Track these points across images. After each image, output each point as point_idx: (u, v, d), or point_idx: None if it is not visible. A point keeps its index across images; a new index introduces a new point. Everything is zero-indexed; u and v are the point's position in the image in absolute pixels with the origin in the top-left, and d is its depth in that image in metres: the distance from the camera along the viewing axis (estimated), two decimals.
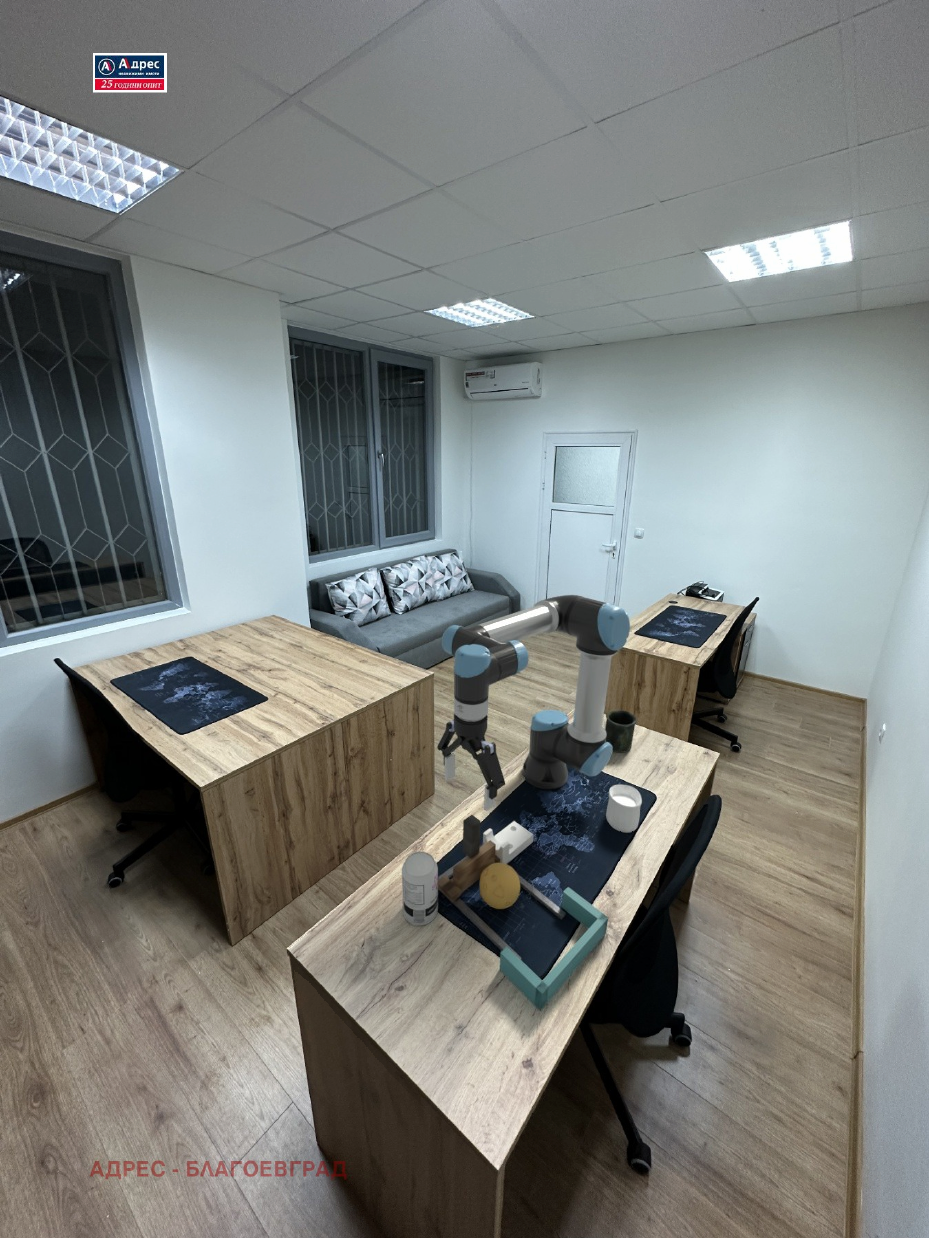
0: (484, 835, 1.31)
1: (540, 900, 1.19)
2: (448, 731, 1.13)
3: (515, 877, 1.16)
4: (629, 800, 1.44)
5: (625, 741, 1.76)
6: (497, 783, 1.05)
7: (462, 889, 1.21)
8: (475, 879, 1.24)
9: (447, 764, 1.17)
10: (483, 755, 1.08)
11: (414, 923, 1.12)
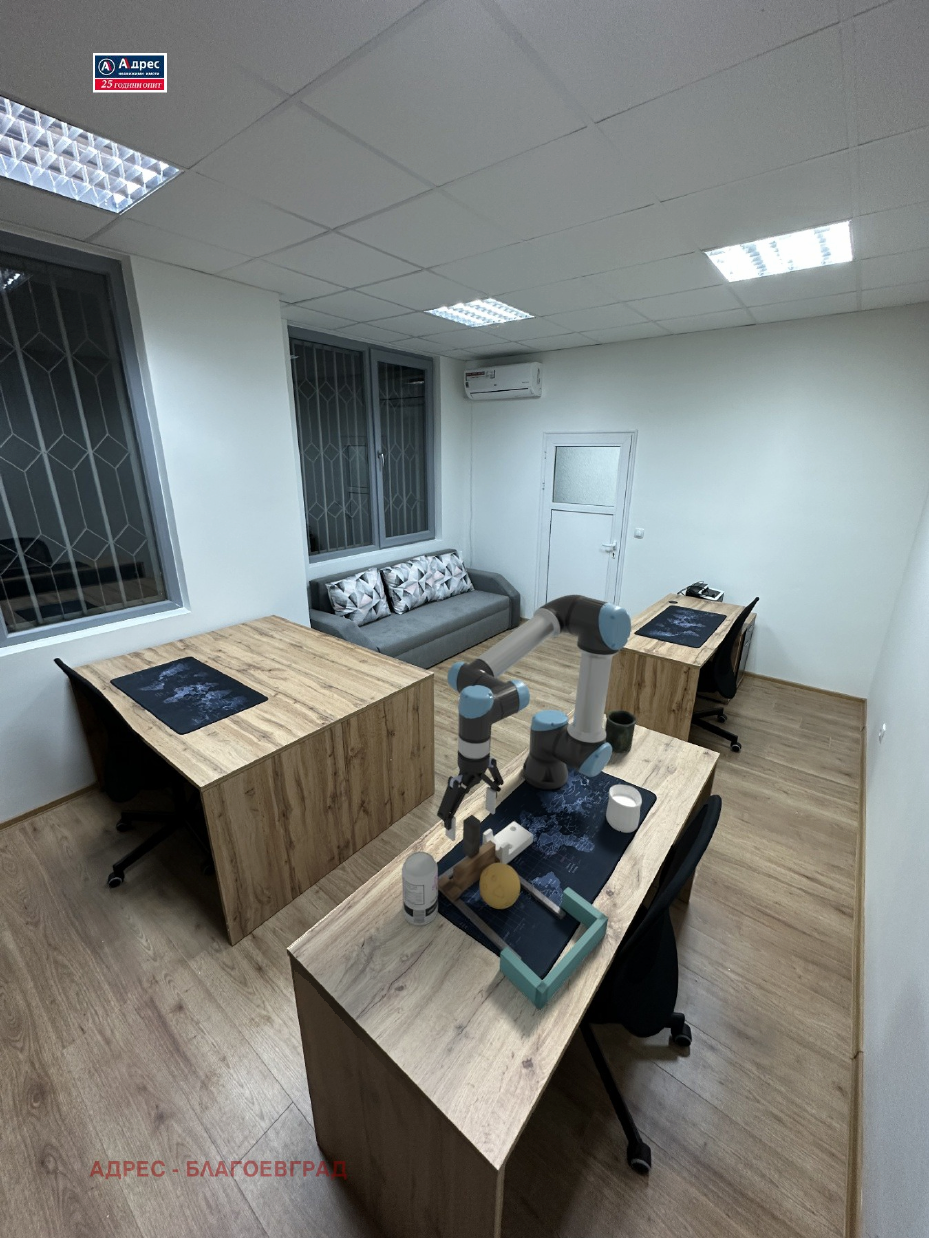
0: (484, 835, 1.31)
1: (540, 900, 1.19)
2: None
3: (515, 877, 1.16)
4: (629, 800, 1.44)
5: (625, 741, 1.76)
6: (439, 811, 1.12)
7: (462, 889, 1.21)
8: (475, 879, 1.24)
9: (486, 794, 1.24)
10: (460, 790, 1.14)
11: (414, 923, 1.12)
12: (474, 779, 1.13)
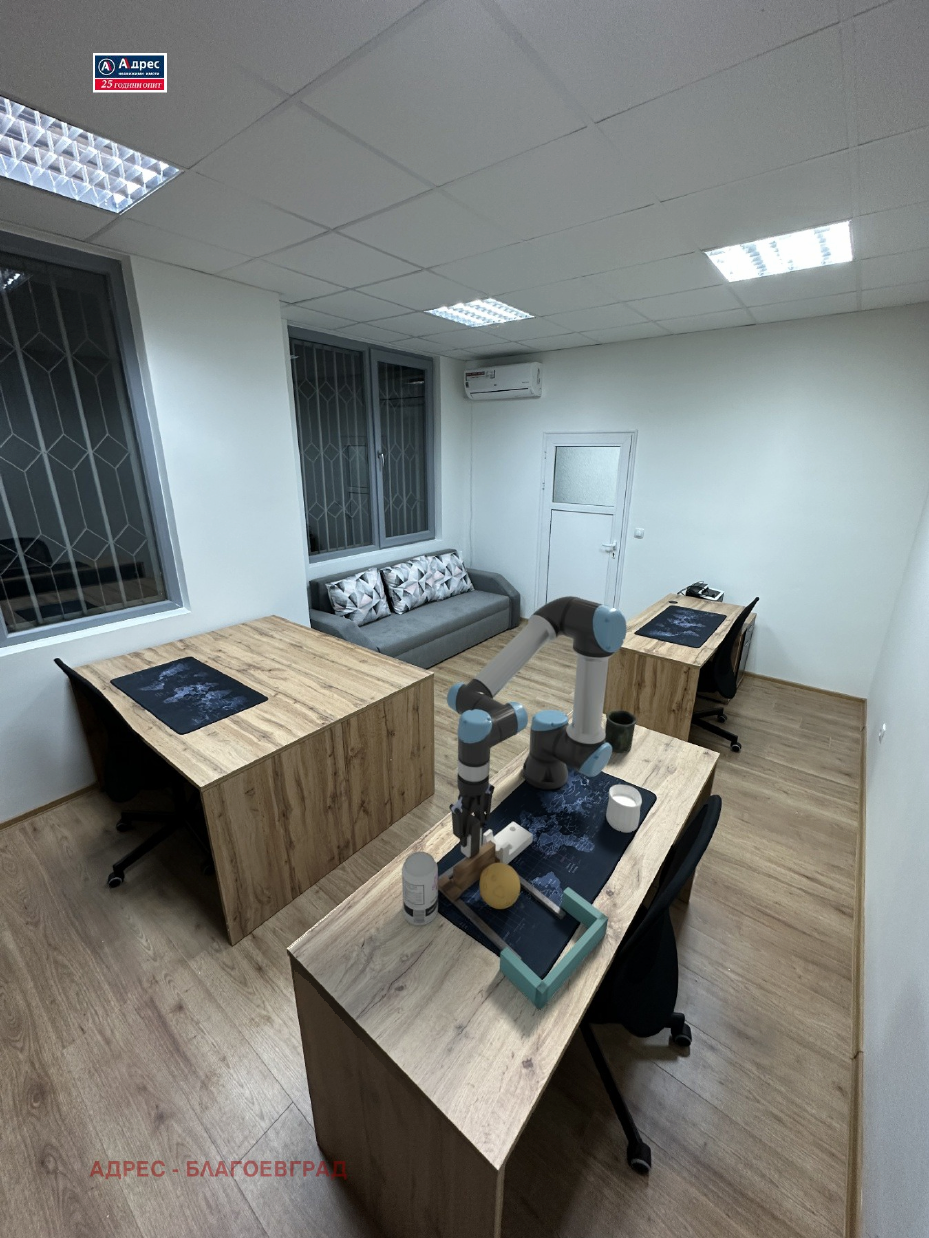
0: (484, 836, 1.30)
1: (540, 900, 1.19)
2: None
3: (515, 877, 1.16)
4: (629, 800, 1.44)
5: (625, 741, 1.76)
6: (453, 831, 1.18)
7: (462, 889, 1.21)
8: (475, 879, 1.24)
9: None
10: (465, 812, 1.17)
11: (414, 923, 1.12)
12: (474, 801, 1.16)
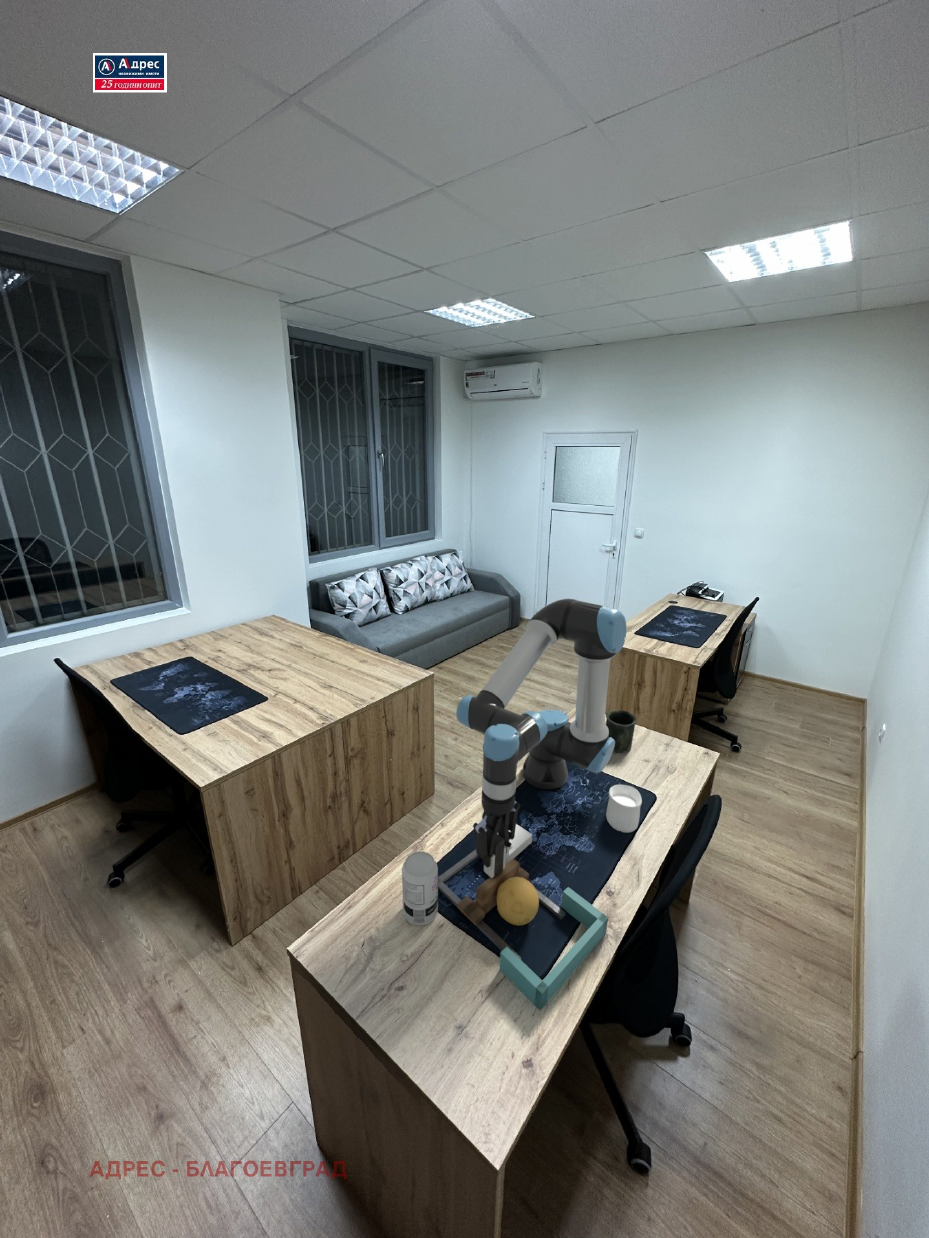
0: None
1: (540, 900, 1.19)
2: None
3: (533, 892, 1.12)
4: (629, 800, 1.44)
5: (625, 741, 1.76)
6: (477, 851, 1.12)
7: (485, 911, 1.16)
8: None
9: None
10: (490, 831, 1.12)
11: (414, 923, 1.12)
12: (499, 820, 1.10)
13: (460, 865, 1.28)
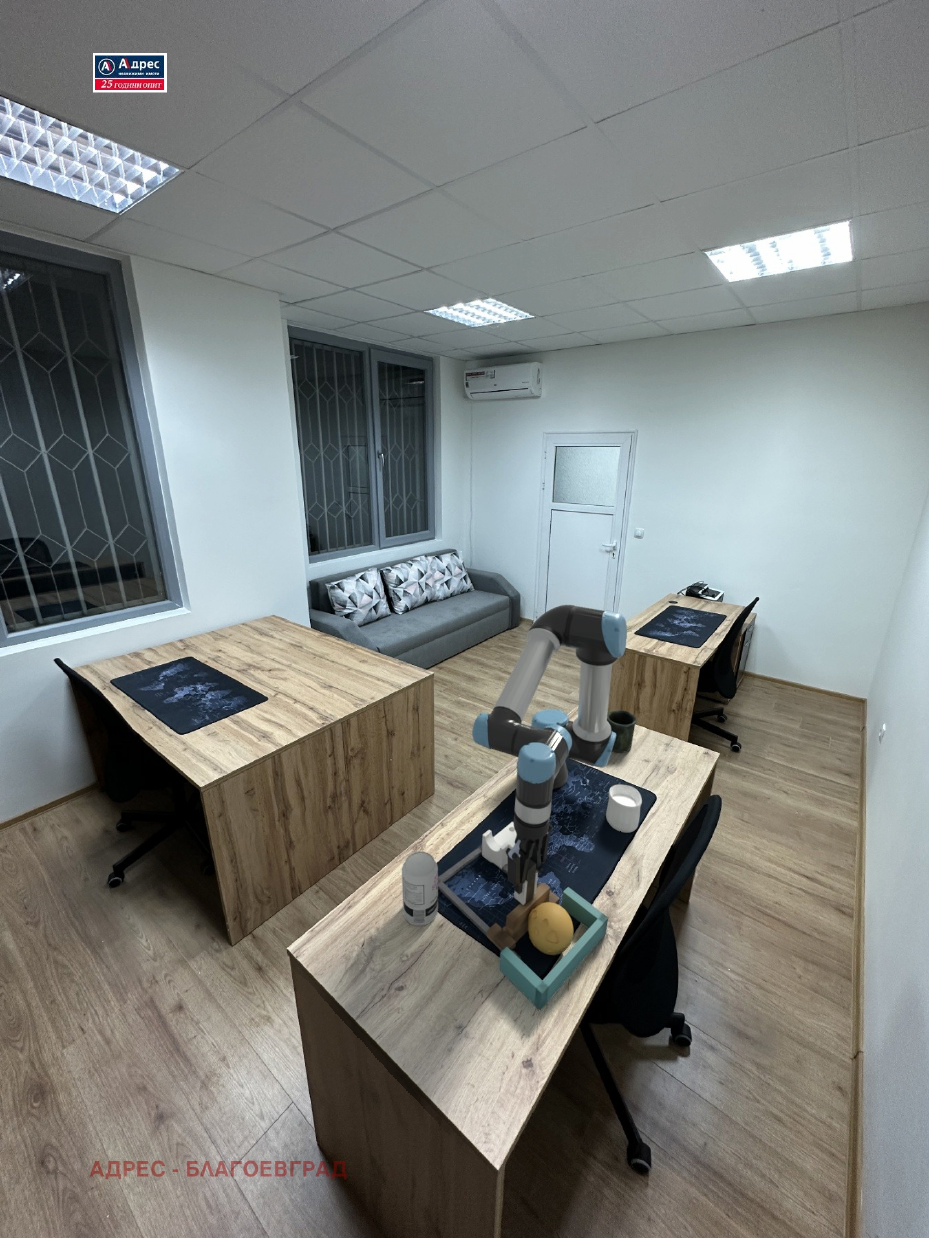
0: (483, 837, 1.30)
1: None
2: None
3: (568, 919, 1.06)
4: (629, 800, 1.44)
5: (625, 741, 1.76)
6: (508, 877, 1.06)
7: (516, 939, 1.09)
8: None
9: None
10: (522, 856, 1.05)
11: (414, 923, 1.12)
12: (533, 844, 1.03)
13: (460, 865, 1.28)
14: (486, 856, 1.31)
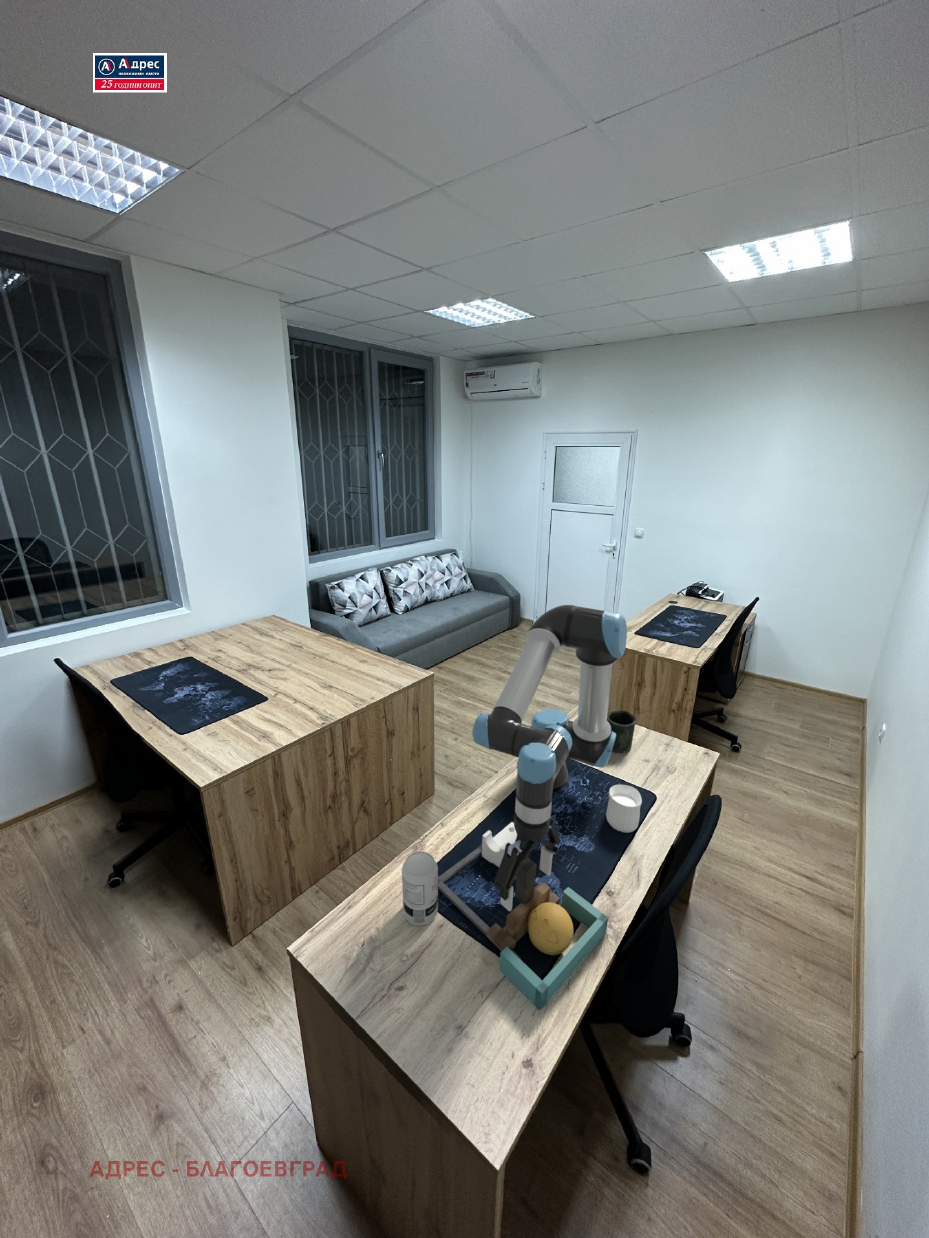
0: (483, 837, 1.30)
1: None
2: None
3: (568, 919, 1.06)
4: (629, 800, 1.44)
5: (625, 741, 1.76)
6: (495, 880, 1.02)
7: (516, 939, 1.09)
8: None
9: (541, 854, 1.14)
10: (518, 856, 1.03)
11: (414, 923, 1.12)
12: (533, 844, 1.03)
13: (460, 865, 1.28)
14: (486, 857, 1.31)
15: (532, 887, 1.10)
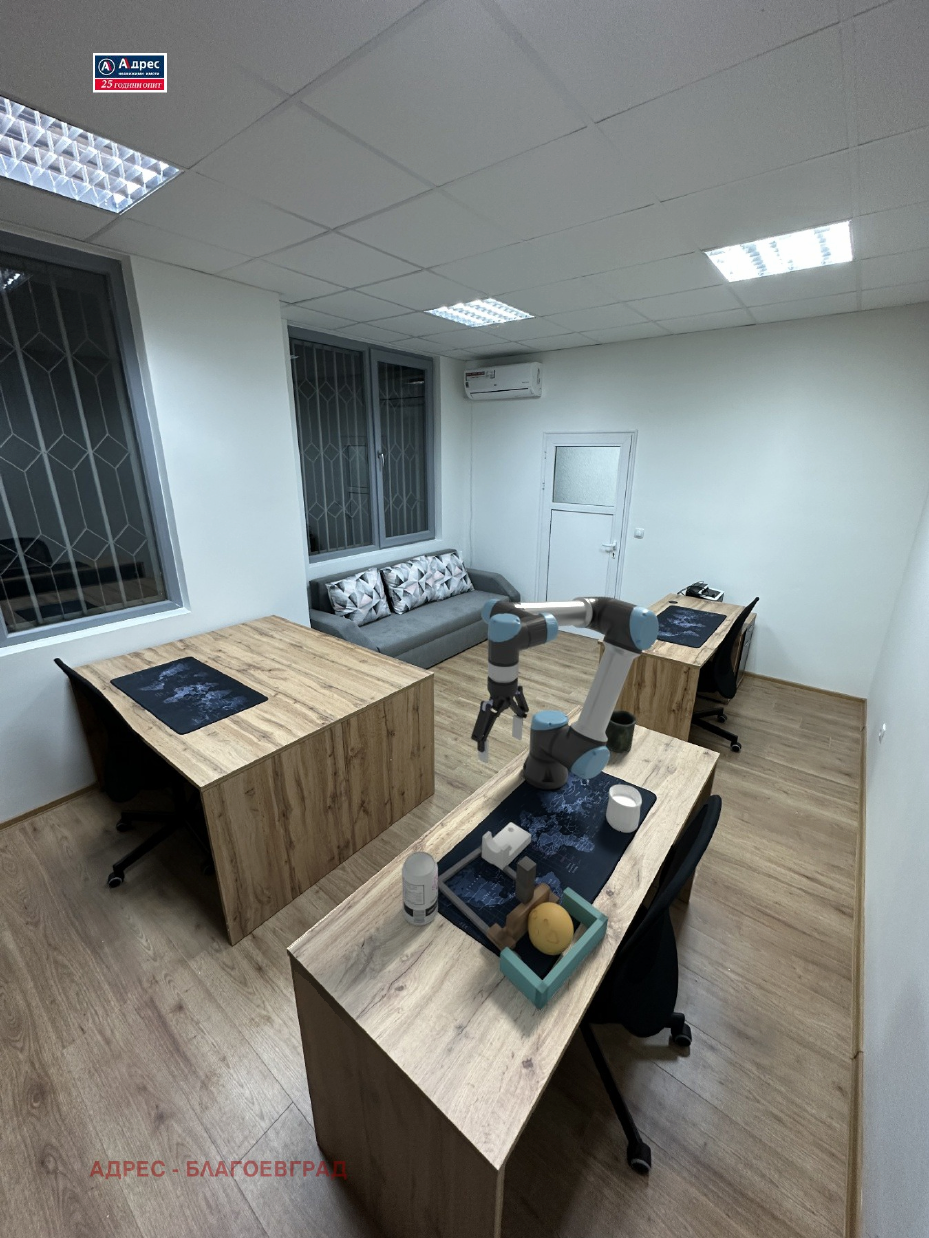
0: (483, 838, 1.30)
1: None
2: None
3: (568, 919, 1.06)
4: (629, 800, 1.44)
5: (625, 741, 1.76)
6: (472, 734, 1.18)
7: (516, 939, 1.09)
8: None
9: (513, 721, 1.31)
10: (491, 714, 1.20)
11: (414, 923, 1.12)
12: (504, 703, 1.20)
13: (460, 865, 1.28)
14: (486, 858, 1.31)
15: (532, 887, 1.10)
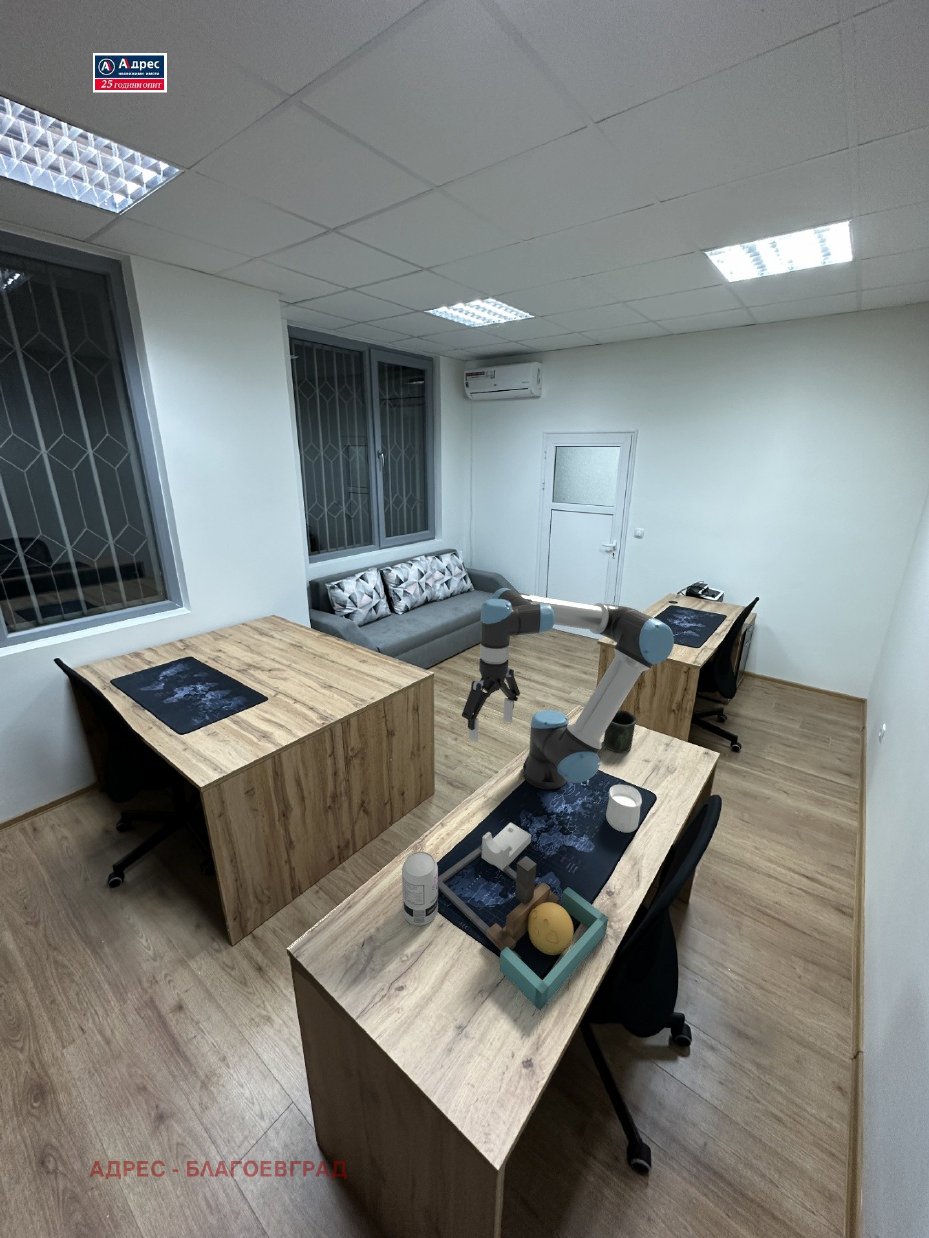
0: (483, 839, 1.29)
1: None
2: None
3: (568, 919, 1.06)
4: (629, 800, 1.44)
5: (625, 741, 1.76)
6: (463, 711, 1.25)
7: (516, 939, 1.09)
8: None
9: (504, 704, 1.37)
10: (482, 694, 1.27)
11: (414, 923, 1.12)
12: (494, 684, 1.27)
13: (460, 865, 1.28)
14: (486, 858, 1.31)
15: (532, 887, 1.10)
